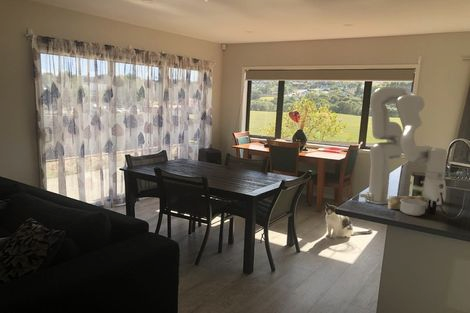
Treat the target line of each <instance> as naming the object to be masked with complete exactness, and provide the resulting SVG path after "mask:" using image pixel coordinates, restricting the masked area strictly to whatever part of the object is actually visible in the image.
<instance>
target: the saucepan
mask: <svg viewBox="0 0 470 313" xmlns="http://www.w3.org/2000/svg"><path fill="white" fill-rule="evenodd" d="M400 201H401V205H400V209H399V211H400V212H402V213H403V214H405V215H409V216H416V217H417V216H422V215H424V214H425V213H426V209H425V208H427V207H428V206H427V203H426V202H424V201H420V200H416V199H401V200H400ZM437 207H441V208H442V207H443V208H444V207H446V208H447V207H448V205H447V204H442V205H438V206H437Z"/></svg>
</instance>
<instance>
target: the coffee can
mask: <svg viewBox="0 0 470 313" xmlns="http://www.w3.org/2000/svg"><path fill="white" fill-rule="evenodd" d="M425 177H426V172H418V171H417V172H414V171H413V172H411V173H410V184H409V193H408V196H423V186H424V181H425Z"/></svg>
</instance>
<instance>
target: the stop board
mask: <svg viewBox="0 0 470 313" xmlns="http://www.w3.org/2000/svg"><path fill="white" fill-rule="evenodd" d="M387 199H388V204H387V209H389V210H400V205H401V201H400V200H401V199H416V200H420V201H424V202H426V203H427V201H426V200H425V199H424V197H423V196H409V195H403V196H402V195H397V196H396V195H393V196H392V195H390V196H389V195H388V198H387ZM425 210H427V208H425Z"/></svg>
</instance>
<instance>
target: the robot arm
mask: <svg viewBox="0 0 470 313" xmlns="http://www.w3.org/2000/svg"><path fill="white" fill-rule="evenodd" d="M369 105H370V111H371V128H372V130H371V131H372V133H371V134H372V137H373V138H374V139H375V140H378V141H379V140H380V142H376V143H373V144H372V145H371V147H370V149H369V157H370V169H369V170H370V172H369V184H368V185H369V186H368V191H366V193H359V198H363V199H364V200H365V201H366V202H368V203H369V204H376V205H388V199H389V188H390V187H389V184H390V174H391V167H390V164H389V161H395V160H398V159H400V158H401V157H402V155H404V156H403V157H404V158H405V159H406V160H407V161H408V162H410V163H426V169H425V173H426V177H425V181H424V186H423V197H424V199H425V200H426V201H427V206H428V207H427V209H426V215H427V216H436V214H437V208H438V207H439V206H438V205H443V204H442V202H445V201H446V193H447V192H446V191H447V187H446V186H447V184H446V180H445V176H446V167H447V166H446V164H447V158H448V157H447V155H448V151H447V149H445V148H442V147H434V146H429V145H417V144H416V141H415V132H416V130H417V129H419V128H420V127H421V126H422V125H423V122H422V118H421V115H420V113H419V112H421V111H423V110H424V108H425V101H424V98H423V97H422V96H421V95H418V94H417V93H415V92H412V91H410V90H409V89H406V88H403V87H394V86H381V87H378V88H376V89H375V90H374V91H373V92H372V94H371V96H370V104H369ZM387 105H395V107H396V112H397V114H398V117H399V120H400V123H401V125H402V126H401V125H400V124H399V123H398V122H395V121H390V110H389V109H388V107H387ZM384 140H385V142H384ZM381 141H383V142H381Z"/></svg>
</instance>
